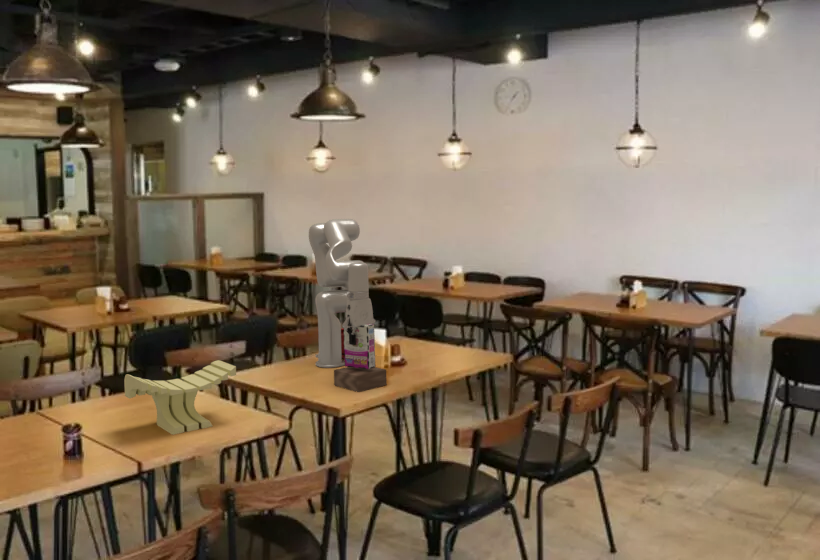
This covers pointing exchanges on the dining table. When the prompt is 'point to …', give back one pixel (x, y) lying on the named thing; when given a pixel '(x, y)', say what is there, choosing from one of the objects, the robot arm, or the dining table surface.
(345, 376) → the walnut riser
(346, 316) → the robot arm
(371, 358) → the candy bar box
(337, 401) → the dining table surface
